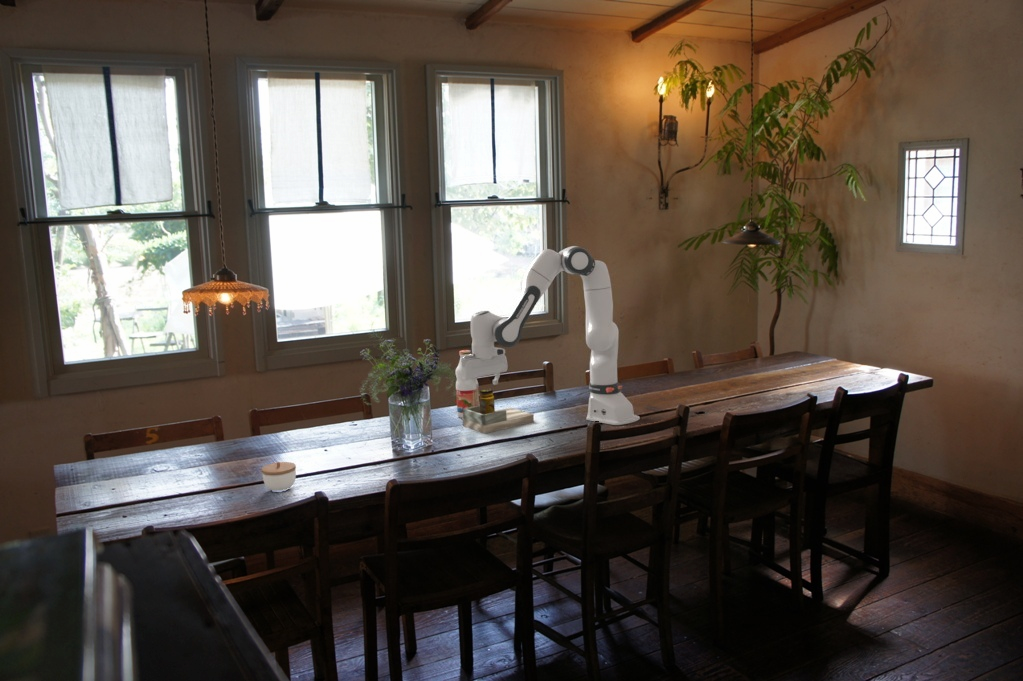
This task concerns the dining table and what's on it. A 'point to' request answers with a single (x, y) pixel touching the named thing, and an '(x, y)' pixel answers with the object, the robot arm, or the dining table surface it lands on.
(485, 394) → the condiment
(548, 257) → the robot arm
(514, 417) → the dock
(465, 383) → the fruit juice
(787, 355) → the dining table surface
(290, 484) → the lidded jar
